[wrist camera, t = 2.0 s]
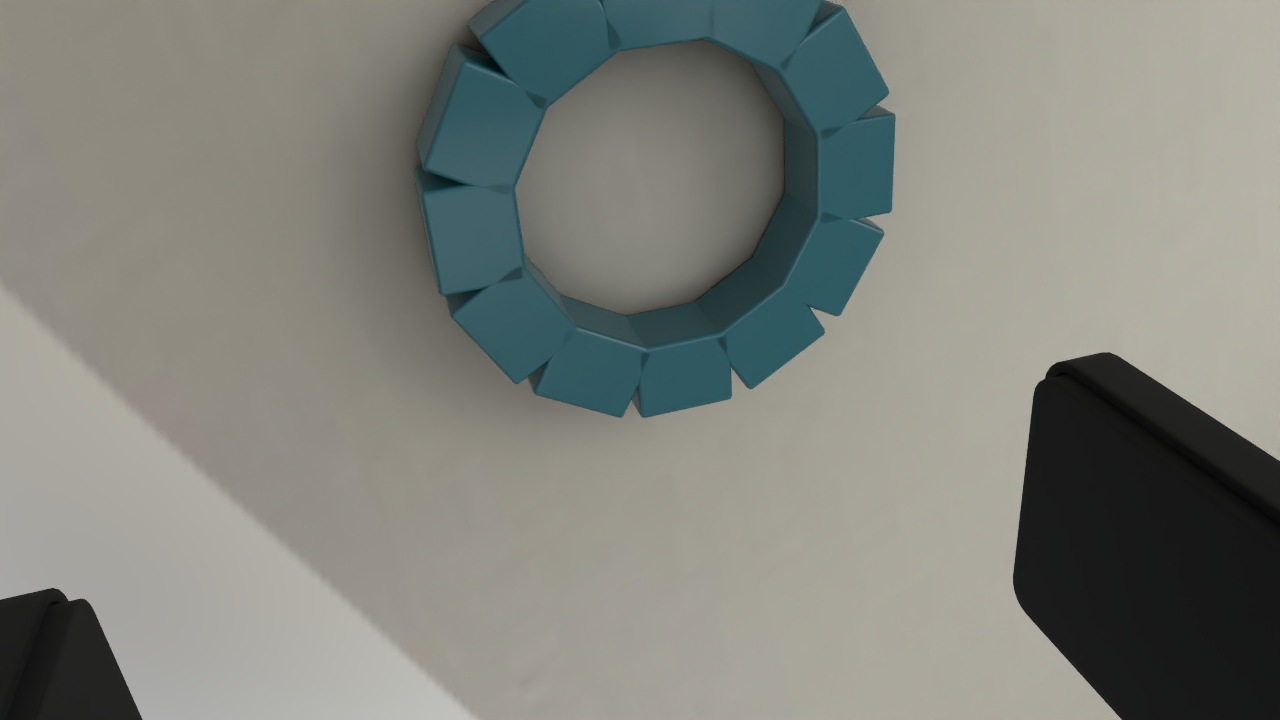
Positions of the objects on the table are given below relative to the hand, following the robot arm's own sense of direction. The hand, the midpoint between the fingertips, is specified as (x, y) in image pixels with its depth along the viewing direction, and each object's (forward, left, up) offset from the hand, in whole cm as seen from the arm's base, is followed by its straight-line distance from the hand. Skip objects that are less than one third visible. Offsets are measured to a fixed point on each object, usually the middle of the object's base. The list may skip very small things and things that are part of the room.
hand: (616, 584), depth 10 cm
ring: (+3, 0, -11) cm, 11 cm away
